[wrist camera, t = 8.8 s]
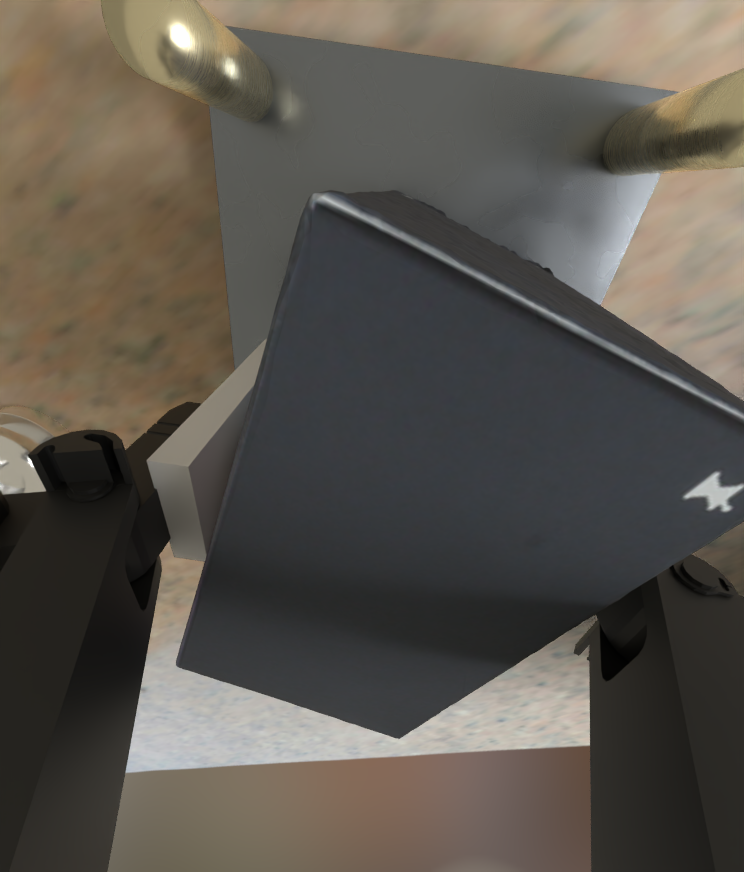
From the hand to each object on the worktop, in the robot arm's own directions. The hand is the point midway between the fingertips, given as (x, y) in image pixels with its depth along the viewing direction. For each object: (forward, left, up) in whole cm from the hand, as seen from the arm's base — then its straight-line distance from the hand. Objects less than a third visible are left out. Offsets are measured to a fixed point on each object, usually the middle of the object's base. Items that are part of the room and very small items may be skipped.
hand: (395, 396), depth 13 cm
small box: (0, 0, -3) cm, 3 cm away
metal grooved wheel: (+20, +9, -5) cm, 23 cm away
